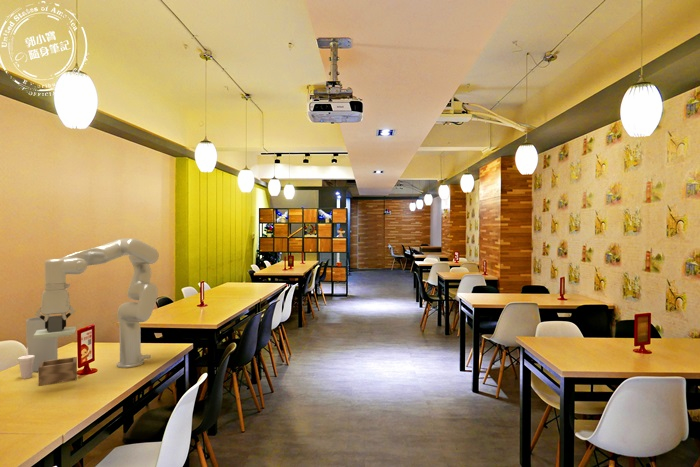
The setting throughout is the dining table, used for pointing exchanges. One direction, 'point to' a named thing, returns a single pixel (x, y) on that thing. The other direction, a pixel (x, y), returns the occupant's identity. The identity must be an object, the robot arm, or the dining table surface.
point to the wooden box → (57, 371)
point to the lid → (55, 329)
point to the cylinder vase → (39, 343)
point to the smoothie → (26, 365)
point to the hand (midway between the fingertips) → (55, 329)
